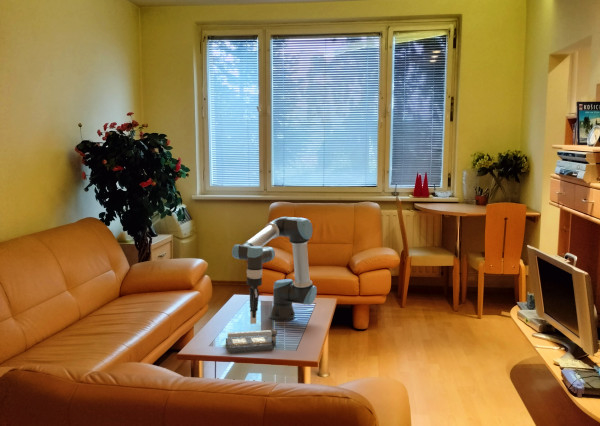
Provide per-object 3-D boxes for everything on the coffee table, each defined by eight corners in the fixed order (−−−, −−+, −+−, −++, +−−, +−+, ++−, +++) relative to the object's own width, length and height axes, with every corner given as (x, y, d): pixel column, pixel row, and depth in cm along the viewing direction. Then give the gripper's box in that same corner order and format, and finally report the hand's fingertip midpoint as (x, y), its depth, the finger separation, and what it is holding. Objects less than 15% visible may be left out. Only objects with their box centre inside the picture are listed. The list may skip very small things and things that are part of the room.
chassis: (272, 340, 287) (273, 330, 287) (278, 350, 274) (279, 339, 273) (225, 343, 281) (225, 333, 280) (229, 353, 267) (229, 343, 267)
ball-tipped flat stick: (276, 333, 282) (276, 328, 281) (277, 335, 279) (277, 330, 278) (227, 336, 275) (227, 331, 275) (228, 338, 272) (228, 333, 272)
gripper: (244, 274, 272) (243, 319, 275) (249, 280, 260) (248, 327, 262) (259, 274, 274) (258, 319, 277) (264, 280, 262) (263, 326, 264)
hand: (253, 323), depth 270 cm, fingers closed
